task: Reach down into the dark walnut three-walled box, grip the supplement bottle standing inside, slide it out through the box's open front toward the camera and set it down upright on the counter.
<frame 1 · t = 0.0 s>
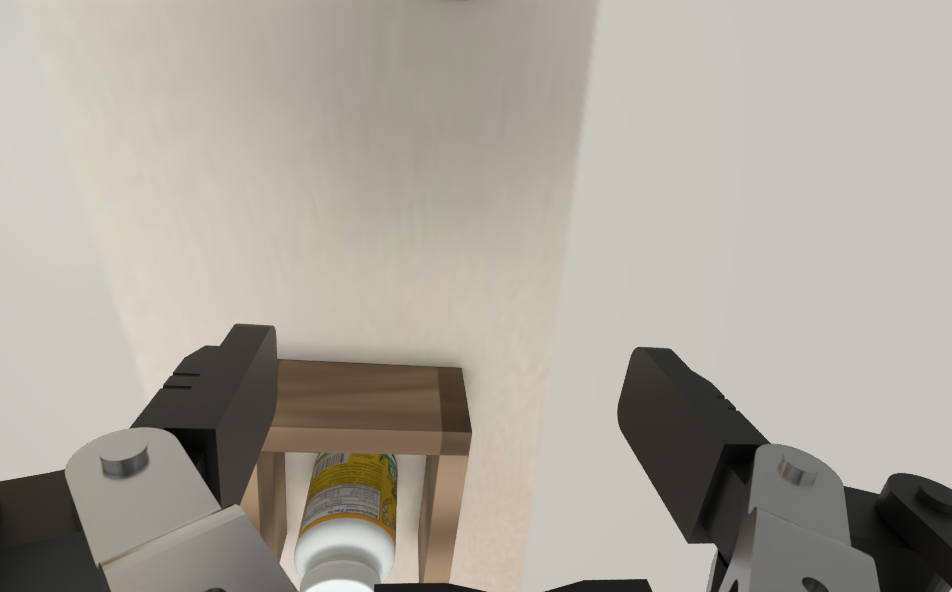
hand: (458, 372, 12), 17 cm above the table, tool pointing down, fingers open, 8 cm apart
supplement bottle: (356, 465, 35), resting in walnut open box
walnut open box: (356, 467, 34), on the table
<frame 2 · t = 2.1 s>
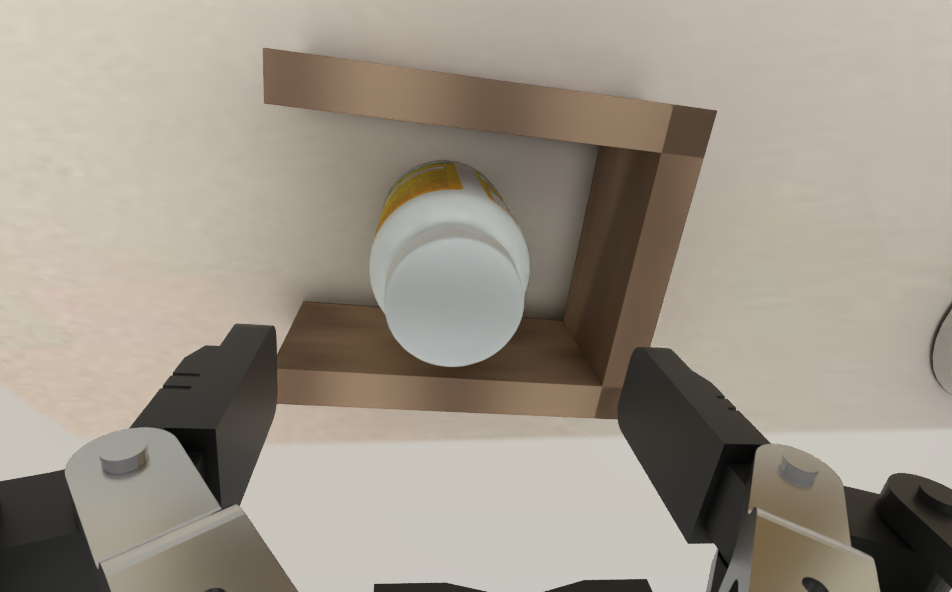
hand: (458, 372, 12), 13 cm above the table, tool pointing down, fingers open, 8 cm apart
supplement bottle: (442, 218, 24), resting in walnut open box
walnut open box: (442, 219, 24), on the table
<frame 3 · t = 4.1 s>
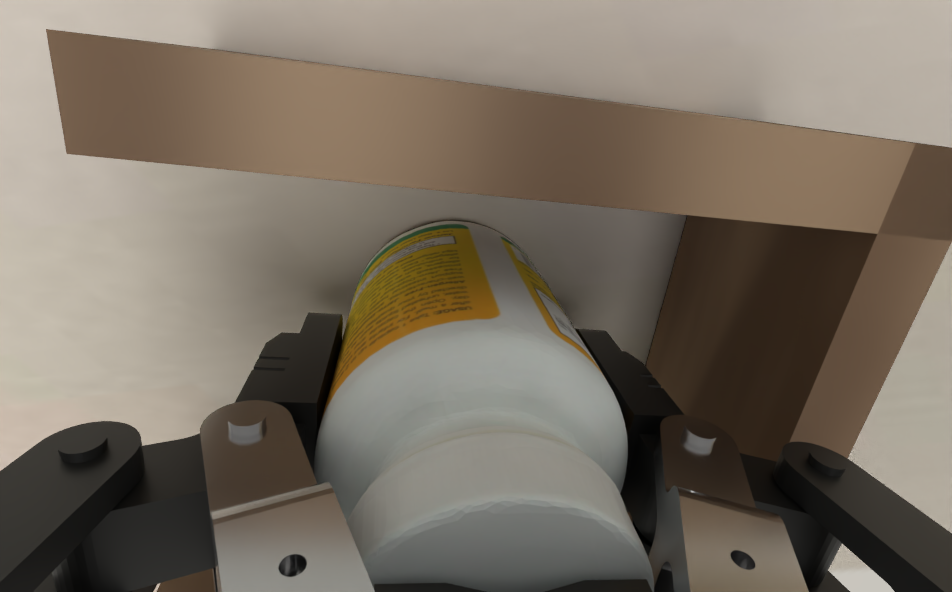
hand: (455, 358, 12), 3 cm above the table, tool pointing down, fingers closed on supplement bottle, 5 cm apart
supplement bottle: (447, 303, 15), resting in walnut open box, touching gripper
walnut open box: (447, 306, 15), on the table
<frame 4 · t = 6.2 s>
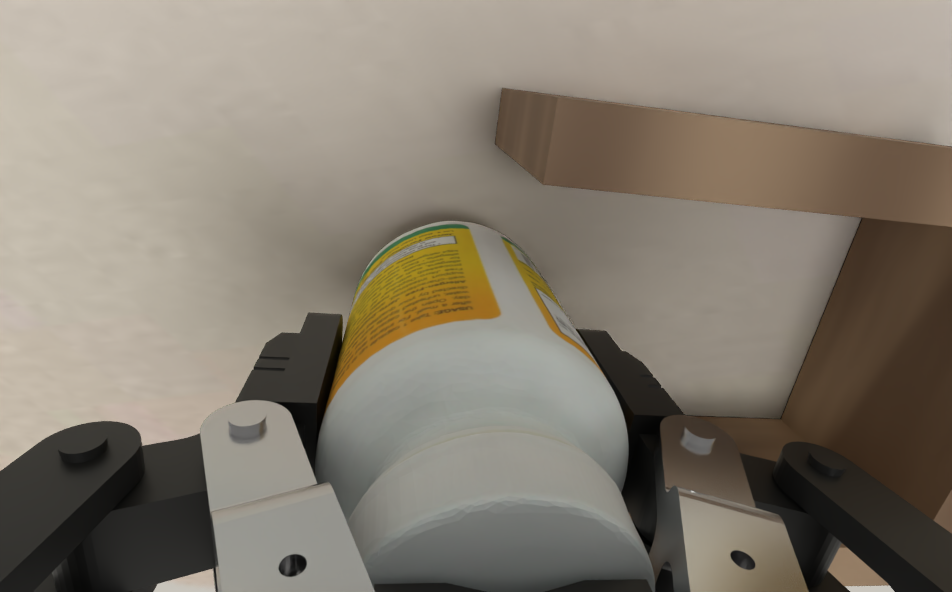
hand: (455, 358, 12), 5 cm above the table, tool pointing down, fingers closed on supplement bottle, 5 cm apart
supplement bottle: (447, 303, 15), point 1 cm above the table, touching gripper
walnut open box: (652, 301, 18), on the table
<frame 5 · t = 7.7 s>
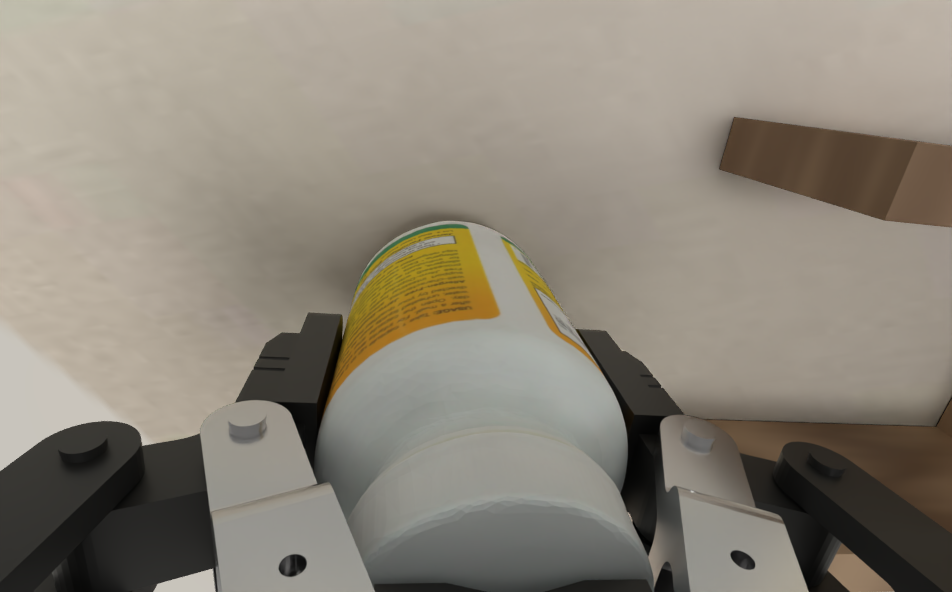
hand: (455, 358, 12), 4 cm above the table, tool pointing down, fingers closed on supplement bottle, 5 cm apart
supplement bottle: (447, 303, 15), point 1 cm above the table, touching gripper
walnut open box: (837, 316, 18), on the table
when the fingers open (4 cm above the table, at t = 8.8 s): supplement bottle stays where it is, on the table.
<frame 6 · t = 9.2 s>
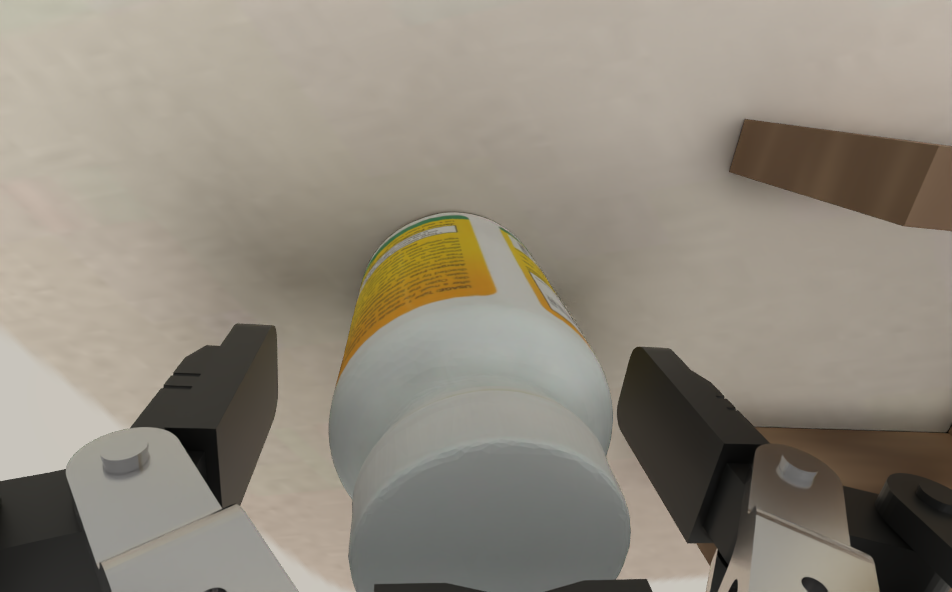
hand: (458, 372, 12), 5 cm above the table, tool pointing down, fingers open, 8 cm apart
supplement bottle: (449, 291, 16), on the table
walnut open box: (848, 321, 18), on the table
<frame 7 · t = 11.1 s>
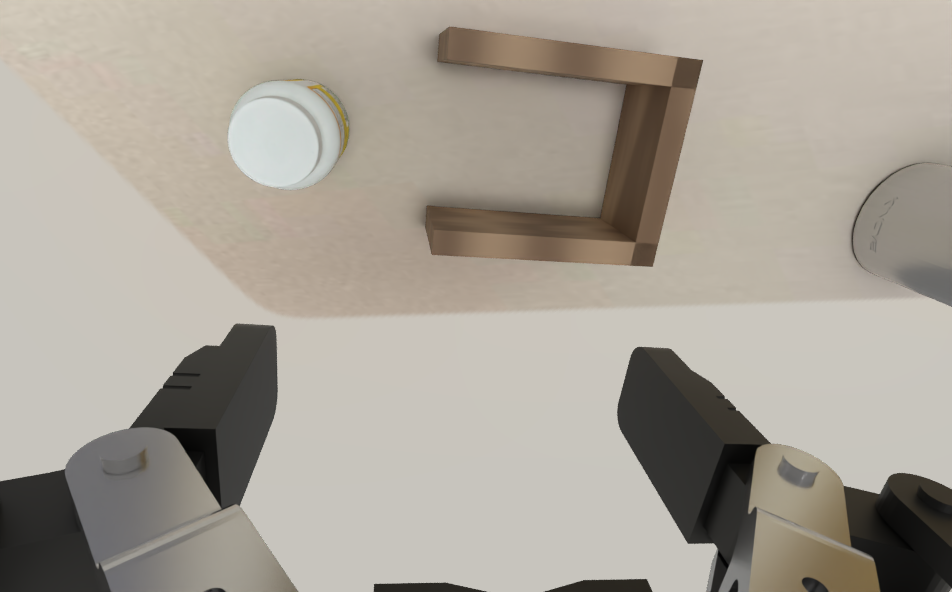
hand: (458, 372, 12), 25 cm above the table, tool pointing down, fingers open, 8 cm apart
supplement bottle: (305, 125, 33), on the table
walnut open box: (521, 145, 35), on the table
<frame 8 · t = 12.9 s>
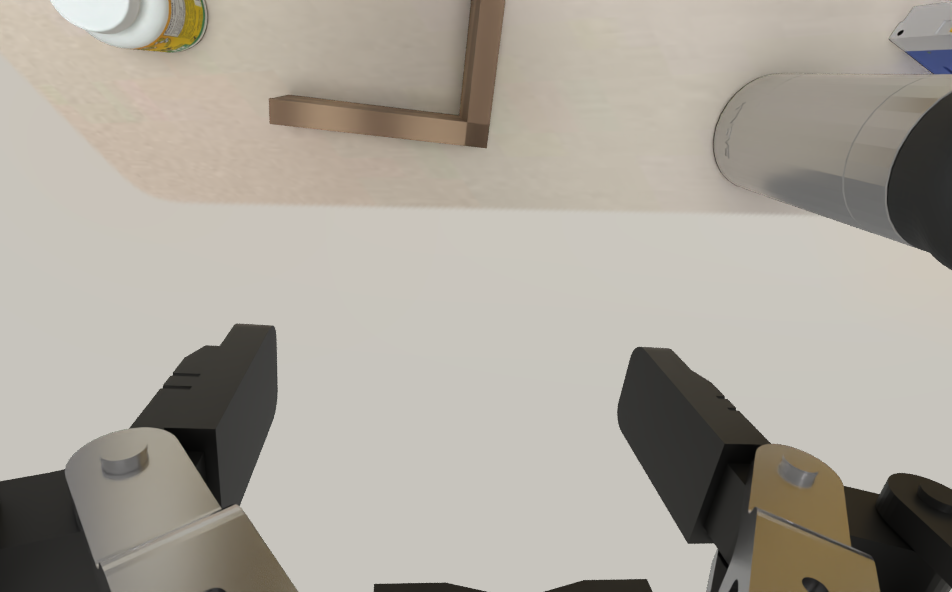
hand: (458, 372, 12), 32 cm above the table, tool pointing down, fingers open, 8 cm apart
supplement bottle: (168, 9, 36), on the table
walkman: (929, 48, 43), on the table
walnut open box: (375, 38, 38), on the table
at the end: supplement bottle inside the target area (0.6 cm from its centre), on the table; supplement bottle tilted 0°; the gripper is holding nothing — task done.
